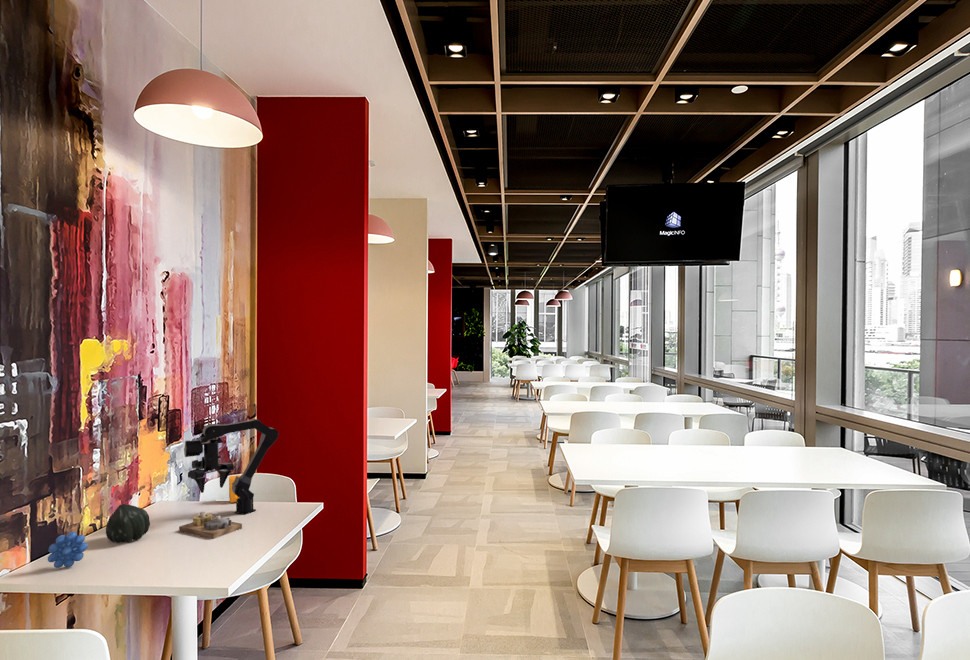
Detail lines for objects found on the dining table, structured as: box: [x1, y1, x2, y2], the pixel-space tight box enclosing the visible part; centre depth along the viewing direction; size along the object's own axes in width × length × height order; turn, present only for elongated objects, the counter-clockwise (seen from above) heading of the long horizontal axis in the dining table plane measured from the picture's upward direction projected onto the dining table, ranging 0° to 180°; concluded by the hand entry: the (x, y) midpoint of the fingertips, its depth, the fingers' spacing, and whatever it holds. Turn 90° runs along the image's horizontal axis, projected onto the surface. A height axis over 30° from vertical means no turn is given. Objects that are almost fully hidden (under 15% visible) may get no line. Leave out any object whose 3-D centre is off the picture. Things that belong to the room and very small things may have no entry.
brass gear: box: [192, 513, 213, 526], centre depth 233 cm, size 7×7×3 cm
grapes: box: [47, 531, 89, 569], centre depth 196 cm, size 12×7×12 cm, turn 108°
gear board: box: [178, 511, 243, 540], centre depth 231 cm, size 13×21×6 cm, turn 62°
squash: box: [105, 503, 151, 544], centre depth 222 cm, size 14×15×15 cm
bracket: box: [228, 474, 241, 504], centre depth 275 cm, size 11×7×12 cm, turn 27°
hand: (211, 490), depth 247 cm, fingers open, 9 cm apart
